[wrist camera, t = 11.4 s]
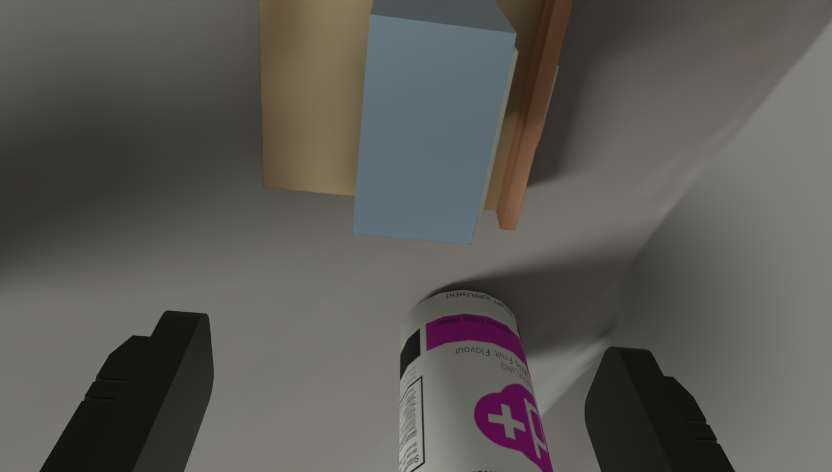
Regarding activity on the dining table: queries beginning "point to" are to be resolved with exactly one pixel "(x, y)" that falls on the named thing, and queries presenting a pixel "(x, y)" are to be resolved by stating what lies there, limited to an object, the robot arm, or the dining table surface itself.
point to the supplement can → (467, 390)
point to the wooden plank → (344, 86)
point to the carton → (431, 116)
